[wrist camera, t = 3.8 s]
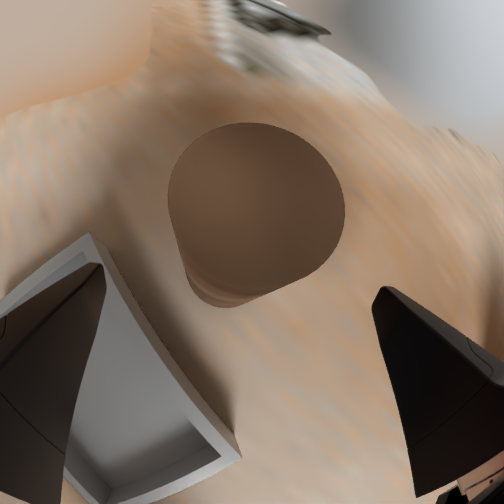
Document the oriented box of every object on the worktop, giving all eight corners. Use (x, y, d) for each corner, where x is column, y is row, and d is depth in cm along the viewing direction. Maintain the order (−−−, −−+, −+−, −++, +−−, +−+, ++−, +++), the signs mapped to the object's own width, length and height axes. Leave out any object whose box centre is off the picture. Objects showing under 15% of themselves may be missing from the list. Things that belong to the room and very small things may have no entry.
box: (115, 493, 12) (104, 517, 9) (4, 325, 14) (-24, 323, 10) (234, 435, 15) (242, 458, 12) (107, 247, 17) (88, 231, 13)
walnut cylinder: (215, 323, 17) (238, 326, 6) (172, 257, 17) (136, 167, 7) (278, 279, 18) (373, 224, 8) (235, 218, 19) (277, 105, 8)
